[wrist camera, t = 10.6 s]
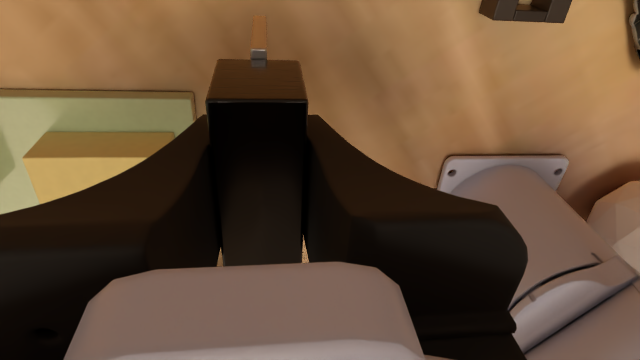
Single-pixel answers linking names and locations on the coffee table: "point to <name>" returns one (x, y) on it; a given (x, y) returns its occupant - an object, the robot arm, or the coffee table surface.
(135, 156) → the butter stick
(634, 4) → the wristwatch
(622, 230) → the geometric ball
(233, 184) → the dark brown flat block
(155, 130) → the butter dish
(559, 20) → the stand
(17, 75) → the coffee table surface
